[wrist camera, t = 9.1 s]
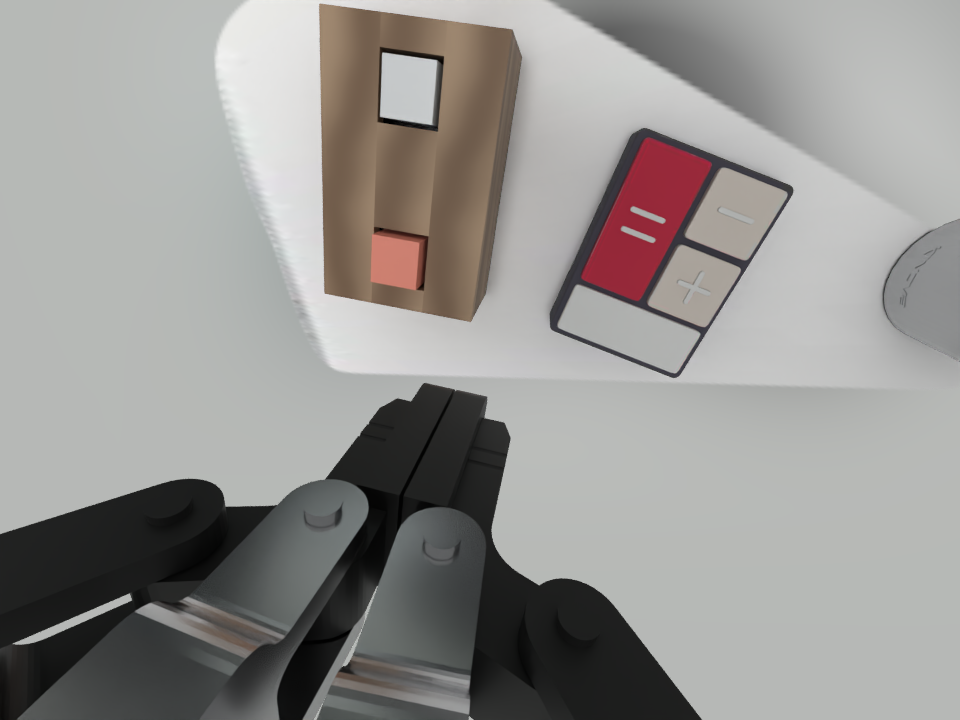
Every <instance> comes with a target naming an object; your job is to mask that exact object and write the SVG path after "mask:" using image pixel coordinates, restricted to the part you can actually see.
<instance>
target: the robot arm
mask: <svg viewBox="0 0 960 720" xmlns="http://www.w3.org/2000/svg"><path fill="white" fill-rule="evenodd" d="M884 305H885V310H886V313H887V315H888V318H889V319H890V321H891V322H892V323H893V325H894V326H895V327H896V328H898V329H899V330H900V331H902V332H903V333H904V334H906V335H908V336H910V337H912V338H914V339H916V340H918V341H920V342H922V343H924V344H926V345H928V346H930V347H932V348H934V349H936V350H938V351H940V352H942V353H944V354H945V355H947V356H949V357H951V358H953V359H955V360H957V361H959V362H960V219H958V220H955V221H952V222H950V223H947V224H945V225H943V226H941V227H939V228H937V229H935V230H933V231H932V232H930V233H928V234H927V235H925V236H924V237H923V238H921V239H920V240H919V241H917V242H916V243H915V244H913V246H912V247H911V248H910V249H909V250H908V251H907V252H906V253H905V254H904V255H903V256H902V257H901V258H900V260H899V261H898V262H897V264H896V265H895V267H894V268H893V270H892V272H891V274H890V276H889V278H888V281H887V283H886V288H885V293H884ZM486 405H487V397H486V396H481V395H477V394H473V393H468V392H464V391H459V390H457V391H456V392H455V390H454V389H450V388H445V387H441V386H436V385H432V384H427V383H424V384H423V385H422V386H421V388H420V389H419V391H418V392H417V394H416V395H415V397H414V398H413V400H412V401H411V402H410V401H406V400H402V399H395V400H394V401H392V402H390V403H388V404H387V405H385V406H383V407H381V408H380V409H379V410H378V411H377V413H376V414H375V415H374V416H373V418H372V419H371V420H370V422H369V425H367V426H366V427H365V428H364V429H363V431H362V432H361V434H360V437H359V436H358V437H357V439H356V440H355V441H354V443H353V444H352V445H351V447H350V448H349V449H348V450H347V452H346V453H345V454H344V456H343V457H342V458H341V459H340V461H339V462H338V463H337V465H336V466H335V467H334V468H333V470H332V471H331V472H330V474H329V475H328V476H327V478H326V479H325V480H318V481H314V482H310V483H307V484H305V485H302V486H300V487H299V488H296V489H295V490H293V491H292V492H291V493H289V494H288V495H287V496H286V497H285V498H284V499H283V500H282V501H281V502H280V503H279V504H278V505H275V506H245V507H244V506H243V507H225V501H224V496H223V493H222V491H221V490H220V488H218V487H217V486H216V485H215V484H213V483H211V482H208V481H204V480H199V479H181V480H175V481H170V482H166V483H162V484H159V485H156V486H152V487H149V488H146V489H143V490H140V491H136V492H134V493H130V494H127V495H124V496H120V497H118V498H114V499H111V500H108V501H105V502H101V503H98V504H95V505H92V506H89V507H85V508H82V509H79V510H76V511H73V512H70V513H66V514H63V515H60V516H57V517H54V518H51V519H47V520H44V521H41V522H38V523H34V524H31V525H28V526H25V527H22V528H18V529H16V530H12V531H9V532H6V533H2V534H0V720H313V719H314V718H315V716H316V714H317V712H318V710H319V708H320V706H321V704H322V703H323V701H324V703H323V705H322V708H321V710H320V713H319V716H318V718H317V720H468V719H469V716H470V717H471V718H472V719H474V720H702V719H701V718H700V717H699V715H698V714H697V713H696V711H695V710H694V709H693V708H692V706H691V705H690V704H689V702H688V701H687V700H686V699H685V697H684V696H683V695H682V693H681V692H680V691H679V689H678V688H677V687H676V686H675V684H674V683H673V682H672V680H671V679H670V678H669V677H668V675H667V674H666V673H665V671H664V670H663V669H662V667H661V666H660V665H659V664H658V662H657V661H656V660H655V658H654V657H653V656H652V654H651V653H650V652H649V651H648V649H647V648H646V647H645V645H644V644H643V643H642V641H641V640H640V639H639V638H638V636H637V635H636V634H635V632H634V631H633V630H632V629H631V627H630V626H629V625H628V623H627V622H626V621H625V619H624V618H623V617H622V616H621V614H620V613H619V612H618V610H617V609H616V608H615V607H614V605H613V604H612V603H611V602H610V601H609V600H608V599H607V598H606V597H605V596H604V595H603V594H602V593H600V592H599V591H597V590H596V589H595V588H593V587H591V586H589V585H587V584H585V583H582V582H580V581H577V580H572V579H562V578H561V579H553V580H550V581H547V582H545V583H543V584H541V585H537V584H536V583H534V582H533V581H531V580H529V579H528V578H526V577H524V576H523V575H521V574H519V573H518V572H517V571H515V570H514V569H512V568H511V567H510V566H509V565H508V564H507V563H506V562H505V561H504V560H503V559H502V557H501V556H500V555H499V553H498V551H497V550H496V548H495V545H494V543H493V539H492V532H491V529H492V523H493V518H494V514H495V509H496V504H497V500H498V495H499V491H500V486H501V481H502V477H503V472H504V467H505V462H506V458H507V453H508V448H509V443H510V436H509V433H508V430H507V428H506V425H505V423H503V422H499V421H494V420H490V419H485V418H484V416H485V411H486ZM377 586H378V588H377V591H376V593H375V596H374V599H373V602H372V604H371V607H370V610H369V613H368V615H367V618H366V621H365V624H364V626H363V623H364V619H365V611H366V609H367V606H368V604H369V602H370V600H371V598H372V595H373V593H374V591H375V589H376V587H377ZM129 593H130V595H131V598H132V601H130V602H128V603H126V604H123V605H121V606H119V607H117V608H114V609H112V610H110V611H107V612H105V613H103V614H101V615H98V616H96V617H94V618H92V619H89V620H87V621H85V622H82V623H80V624H78V625H76V626H74V627H71V628H69V629H66V630H64V631H62V632H60V633H57V634H55V635H53V636H51V637H48V638H46V639H44V640H41V641H38V642H35V643H30V644H24V645H15V644H13V643H15V642H17V641H20V640H22V639H24V638H27V637H29V636H31V635H33V634H36V633H38V632H41V631H43V630H45V629H48V628H50V627H52V626H55V625H57V624H59V623H62V622H64V621H66V620H69V619H71V618H73V617H75V616H78V615H80V614H82V613H85V612H87V611H90V610H92V609H94V608H96V607H99V606H101V605H103V604H106V603H108V602H110V601H113V600H115V599H117V598H120V597H122V596H124V595H127V594H129ZM362 626H363V629H362ZM361 629H362V632H361V635H360V637H359V640H358V643H357V646H356V648H355V651H354V653H353V656H352V658H351V660H350V662H349V663H348V665H347V666H343V667H342V665H343V663H344V661H345V659H346V657H347V656H348V654H349V652H350V650H351V648H352V646H353V644H354V642H355V640H356V639H357V637H358V635H359V633H360V631H361ZM341 667H342V668H341ZM325 697H326V698H325ZM324 699H325V700H324Z"/></svg>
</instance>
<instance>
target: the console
mask: <svg viewBox="0 0 960 720" xmlns="http://www.w3.org/2000/svg"><path fill="white" fill-rule="evenodd" d="M319 16H320V71H321V126H322V181H323V236H324V291H325V294H330V295H335V296H340V297H345V298H350V299H356V300H361V301H366V302H371V303H376V304H381V305H386V306H392V307H397V308H402V309H407V310H412V311H417V312H422V313H428V314H433V315H438V316H443V317H448V318H453V319H458V320H464V321H469V322H471V321H472V319H473V317H474V315H475V313H476V311H477V309H478V307H479V305H480V304H481V302H482V300H483V298H484V296H485V294H486V288H487V281H488V275H489V268H490V262H491V255H492V249H493V242H494V236H495V229H496V223H497V216H498V210H499V203H500V197H501V190H502V184H503V177H504V171H505V164H506V158H507V151H508V145H509V138H510V132H511V125H512V119H513V112H514V106H515V99H516V93H517V86H518V80H519V73H520V67H521V60H522V56H521V53H520V50H519V47H518V44H517V41H516V39H515V36H514V33H513V30H511V29H504V28H496V27H489V26H482V25H474V24H467V23H459V22H452V21H445V20H437V19H430V18H422V17H415V16H408V15H400V14H393V13H385V12H378V11H371V10H363V9H356V8H348V7H341V6H334V5H326V4H319ZM382 53H389V54H396V55H403V56H410V57H417V58H424V59H431V60H437V61H439V62H440V63H441V64H442V65H443V66H444V67H443V78H442V90H441V101H440V112H439V124H438V132H436V131H430V130H424V129H417V128H411V127H405V126H398V125H392V124H386V123H383V117H380V105H381V77H382ZM379 228H385V229H391V230H396V231H402V232H407V233H413V234H419V235H424V236H429V238H428V249H427V261H426V272H425V282H424V283H423V284H422V285H421V286H420V287H419V288H418V289H417V290H412V289H406V288H401V287H396V286H390V285H385V284H380V283H375V282H371V252H372V234H374V233H376V232H379Z"/></svg>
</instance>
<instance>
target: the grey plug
mask: <svg viewBox="0 0 960 720" xmlns="http://www.w3.org/2000/svg"><path fill="white" fill-rule="evenodd" d="M443 67H444V66H443V65H442V64H441V63H440V62H439V61H437V60H431V59H424V58H417V57H410V56H403V55H396V54H389V53H382V77H381V105H380V117H383V118H387V119H391V120H396V121H400V122H404V123H408V124H412V125H417V126H424V127H430V128H437V129H438V124H439V112H440V101H441V90H442V78H443Z"/></svg>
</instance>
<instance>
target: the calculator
mask: <svg viewBox="0 0 960 720" xmlns="http://www.w3.org/2000/svg"><path fill="white" fill-rule="evenodd" d="M792 194H793V188H792V186H790V185H788V184H786V183H783V182H781V181H778V180H775V179H773V178H770V177H768V176H765V175H763V174H760V173H758V172H755V171H753V170H750V169H748V168H745V167H743V166H740V165H738V164H735V163H733V162H730V161H728V160H725V159H723V158H720V157H718V156H715V155H713V154H710V153H708V152H705V151H703V150H700V149H697V148H695V147H692V146H690V145H687V144H685V143H682V142H680V141H677V140H675V139H672V138H670V137H667V136H665V135H662V134H660V133H657V132H655V131H652V130H650V129H647V128H643V129H641V130H639V131H637V132H635V133H634V134H632V136H631V137H630V139H629V141H628V143H627V146H626V148H625V150H624V152H623V154H622V157H621V159H620V161H619V163H618V165H617V168H616V170H615V172H614V174H613V176H612V179H611V181H610V183H609V185H608V187H607V190H606V192H605V194H604V196H603V198H602V201H601V203H600V205H599V207H598V209H597V212H596V214H595V216H594V218H593V221H592V223H591V225H590V227H589V229H588V232H587V234H586V236H585V238H584V241H583V243H582V245H581V247H580V249H579V252H578V254H577V256H576V258H575V261H574V263H573V265H572V267H571V269H570V271H569V273H568V275H567V277H566V279H565V281H564V283H563V286H562V288H561V290H560V292H559V294H558V297H557V299H556V301H555V303H554V305H553V308H552V310H551V312H550V327H551V329H552V330H553V331H555V332H558V333H560V334H563V335H565V336H568V337H570V338H573V339H575V340H578V341H580V342H583V343H586V344H588V345H591V346H593V347H596V348H598V349H601V350H603V351H606V352H608V353H611V354H613V355H616V356H619V357H621V358H624V359H626V360H629V361H631V362H634V363H636V364H639V365H641V366H644V367H646V368H649V369H652V370H654V371H657V372H659V373H662V374H664V375H667V376H669V377H672V378H676V377H678V376H679V375H680V374H681V373H682V371H683V369H684V368H685V366H686V365H687V363H688V361H689V360H690V358H691V357H692V355H693V353H694V352H695V350H696V349H697V347H698V345H699V344H700V342H701V341H702V339H703V337H704V336H705V334H706V332H707V331H708V329H709V328H710V326H711V324H712V323H713V321H714V320H715V318H716V316H717V315H718V313H719V312H720V310H721V308H722V307H723V305H724V304H725V302H726V300H727V299H728V297H729V296H730V294H731V292H732V291H733V289H734V288H735V286H736V284H737V283H738V281H739V280H740V278H741V276H742V275H743V273H744V272H745V270H746V268H747V267H748V265H749V264H750V262H751V260H752V259H753V257H754V256H755V254H756V252H757V251H758V249H759V248H760V246H761V244H762V243H763V241H764V239H765V238H766V236H767V235H768V233H769V231H770V230H771V228H772V227H773V225H774V223H775V222H776V220H777V219H778V217H779V215H780V214H781V212H782V211H783V209H784V207H785V206H786V204H787V203H788V201H789V199H790V198H791V196H792Z"/></svg>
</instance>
